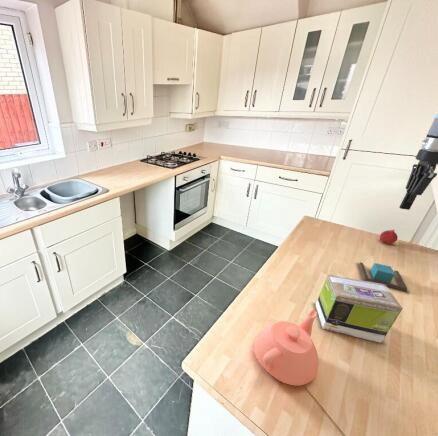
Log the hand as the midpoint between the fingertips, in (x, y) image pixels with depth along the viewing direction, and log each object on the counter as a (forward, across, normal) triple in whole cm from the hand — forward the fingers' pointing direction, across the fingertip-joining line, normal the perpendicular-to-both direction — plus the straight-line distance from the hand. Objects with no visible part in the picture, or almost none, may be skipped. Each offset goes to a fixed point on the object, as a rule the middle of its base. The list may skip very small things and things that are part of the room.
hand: (404, 208), depth 99 cm
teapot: (+22, +74, -38) cm, 86 cm away
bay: (+22, +21, -6) cm, 31 cm away
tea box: (+22, +52, -21) cm, 61 cm away
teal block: (+22, +22, -6) cm, 31 cm away
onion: (+22, -9, +3) cm, 24 cm away
